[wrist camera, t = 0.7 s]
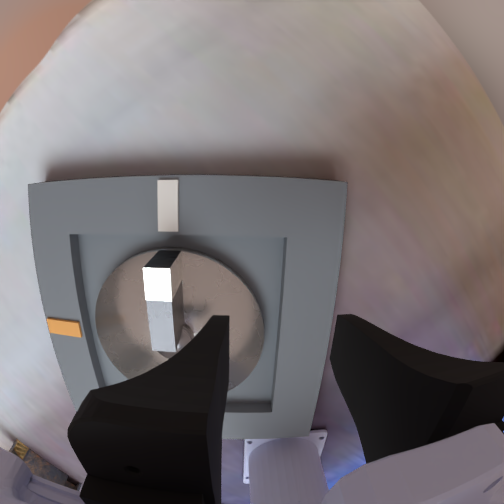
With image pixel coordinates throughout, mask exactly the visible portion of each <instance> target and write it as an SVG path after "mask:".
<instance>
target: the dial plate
mask: <svg viewBox="0 0 504 504" xmlns="http://www.w3.org/2000/svg"><path fill="white" fill-rule="evenodd" d="M347 183H348V182H343V181H336V180H323V179H309V178H294V177H275V176H250V175H142V176H118V177H100V178H85V179H72V180H60V181H49V182H41V183H34V184H28V197H29V214H30V226H31V236H32V245H33V253H34V260H35V266H36V273H37V278H38V284H39V289H40V294H41V299H42V304H43V308H44V313H45V317H46V321H47V325H48V329H49V333H50V336H51V340H52V343H53V347H54V350H55V354H56V357H57V360H58V363H59V366H60V369H61V372H62V375H63V378H64V381H65V384H66V387H67V389H68V392H69V395H70V397H71V400H72V402H73V405H74V407H75V410H76V412H77V410H78V409H79V407H80V405H81V403H82V401H83V400H84V399H85V397H86V396H87V394H88V393H89V391H90V390H93V389H97V388H101V387H105V386H109V385H113V384H117V383H120V382H123V381H126V380H129V379H128V378H126V377H125V376H124V375H123V374H122V373H121V372H120V371H119V370H118V369H117V368H116V367H115V366H114V365H113V363H112V362H111V361H110V359H109V358H108V356H107V355H106V353H105V351H104V349H103V347H102V345H101V343H100V340H99V337H98V334H97V330H96V323H95V309H96V302H97V298H98V295H99V292H100V290H101V288H102V286H103V284H104V282H105V281H106V280H107V278H108V277H109V275H110V274H111V273H112V272H113V271H114V270H115V269H116V268H117V267H119V266H120V265H121V264H122V263H123V262H125V261H126V260H127V259H129V258H130V257H132V256H134V255H136V254H138V253H140V252H143V251H146V250H149V249H154V248H160V247H183V248H189V249H193V250H198V251H200V252H203V253H206V254H209V255H211V256H213V257H215V258H217V259H219V260H221V261H222V262H224V263H225V264H227V265H228V266H230V267H231V268H232V269H233V270H234V271H236V272H237V273H238V274H239V275H240V276H241V277H242V278H243V279H244V281H245V282H246V283H247V284H248V286H249V287H250V289H251V290H252V292H253V293H254V295H255V297H256V299H257V301H258V304H259V307H260V310H261V313H262V319H263V325H264V344H263V350H262V353H261V356H260V359H259V361H258V363H257V365H256V367H255V368H254V369H253V371H252V372H251V374H250V375H249V376H248V377H247V378H246V379H245V380H244V381H243V382H242V383H240V384H239V385H238V386H236V387H235V388H233V389H232V390H230V391H228V393H227V400H226V407H225V414H224V421H223V429H222V439H274V438H292V437H305V436H309V433H310V429H311V425H312V421H313V417H314V412H315V408H316V404H317V399H318V394H319V390H320V385H321V380H322V375H323V370H324V365H325V360H326V354H327V349H328V343H329V338H330V332H331V326H332V319H333V313H334V306H335V299H336V292H337V285H338V277H339V269H340V261H341V252H342V243H343V233H344V222H345V211H346V198H347Z"/></svg>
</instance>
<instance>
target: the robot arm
mask: <svg viewBox="0 0 504 504" xmlns="http://www.w3.org/2000/svg"><path fill="white" fill-rule="evenodd" d="M229 322H230V315H213V316H211V317H210V319H209V320H208V321H207V323H206V324H205V325H204V326H203V328H202V329H201V330H200V331H199V332H198V333H197V334H196V335H195V337H194V338H193V339H192V340H191V341H190V342H189V343H188V344H187V345H185V346H184V347H183V348H182V349H181V350H180V351H179V352H178V353H176V354H175V355H174V356H172V357H171V358H170V359H168V360H167V361H165V362H164V363H162V364H160V365H158V366H156V367H155V368H153V369H151V370H149V371H147V372H145V373H143V374H141V375H139V376H136V377H134V378H131V379H129V380H126V381H123V382H120V383H117V384H113V385H109V386H105V387H101V388H97V389H93V390H90V391H89V393H88V394H87V396H86V397H85V399H84V400H83V401H82V403H81V405H80V407H79V409H78V410H77V412H76V414H75V416H74V418H73V420H72V422H71V423H70V425H69V427H68V439H69V442H70V444H71V446H72V448H73V450H74V452H75V454H76V455H77V457H78V459H79V461H80V462H81V464H82V466H83V467H84V469H85V471H86V472H87V476H86V479H85V482H84V484H83V487H82V490H81V492H80V491H77V490H74V489H71V488H68V487H65V486H62V485H59V484H56V483H54V482H51V481H48V480H46V479H43V478H41V477H38V476H36V475H34V474H32V472H31V470H30V469H29V467H28V466H27V464H26V463H25V462H24V461H23V460H22V459H21V458H19V457H18V456H16V455H15V454H13V453H11V452H9V451H7V450H5V449H2V448H0V504H221V454H222V429H223V421H224V414H225V407H226V400H227V393H228V386H229ZM330 361H331V365H332V369H333V372H334V376H335V379H336V381H337V384H338V386H339V388H340V390H341V393H342V395H343V397H344V399H345V401H346V404H347V406H348V408H349V410H350V412H351V415H352V417H353V419H354V422H355V424H356V427H357V430H358V433H359V437H360V440H361V444H362V447H363V451H364V456H365V460H366V464H364V465H363V466H361V467H359V468H358V469H356V470H354V471H352V472H351V473H349V474H347V475H345V476H344V477H342V478H341V479H340V480H339V481H338V482H337V483H336V484H335V485H334V486H333V487H332V488H331V489H330V490H329V489H328V486H327V482H326V478H325V475H324V471H323V467H322V463H321V460H320V456H321V453H322V450H323V447H324V444H325V441H326V437H327V431H326V430H324V429H322V430H312V431H310V433H309V436H305V437H292V438H274V439H245V440H244V470H243V482H244V483H246V484H249V486H250V503H251V504H504V433H503V431H504V422H503V421H502V418H503V417H504V363H502V362H480V361H472V360H465V359H459V358H454V357H450V356H446V355H442V354H438V353H435V352H432V351H429V350H426V349H423V348H421V347H418V346H415V345H413V344H411V343H408V342H406V341H404V340H402V339H400V338H398V337H396V336H394V335H392V334H390V333H388V332H386V331H384V330H382V329H380V328H379V327H377V326H375V325H373V324H371V323H369V322H368V321H366V320H364V319H362V318H360V317H358V316H355V315H353V314H346V315H337V321H336V327H335V333H334V338H333V344H332V349H331V355H330Z"/></svg>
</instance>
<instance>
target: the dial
mask: <svg viewBox="0 0 504 504" xmlns="http://www.w3.org/2000/svg"><path fill="white" fill-rule="evenodd" d="M213 315H230V322H229V386H228V391H230V390H232V389H233V388H235V387H236V386H238V385H239V384H240V383H242V382H243V381H244V380H245V379H246V378H247V377H248V376H249V375H250V374H251V372H252V371H253V369H254V368H255V367H256V365H257V363H258V361H259V359H260V356H261V353H262V350H263V344H264V325H263V319H262V313H261V310H260V307H259V304H258V301H257V299H256V297H255V295H254V293H253V292H252V290H251V289H250V287H249V286H248V284H247V283H246V282H245V281H244V279H243V278H242V277H241V276H240V275H239V274H238V273H237V272H236V271H234V270H233V269H232V268H231V267H230V266H228V265H227V264H225V263H224V262H222V261H221V260H219V259H217V258H215V257H213V256H211V255H209V254H206V253H203V252H200V251H198V250H193V249H189V248H183V247H160V248H154V249H149V250H146V251H143V252H140V253H138V254H136V255H134V256H132V257H130V258H129V259H127V260H126V261H125V262H123V263H122V264H121V265H120V266H119V267H117V268H116V269H115V270H114V271H113V272H112V273H111V274H110V275H109V277H108V278H107V280H106V281H105V282H104V284H103V286H102V288H101V290H100V292H99V295H98V298H97V302H96V309H95V323H96V330H97V334H98V337H99V340H100V343H101V345H102V347H103V349H104V351H105V353H106V355H107V356H108V358H109V359H110V361H111V362H112V363H113V365H114V366H115V367H116V368H117V369H118V370H119V371H120V372H121V373H122V374H123V375H124V376H125V377H126V378H128V379H131V378H134V377H136V376H139V375H141V374H143V373H145V372H147V371H149V370H151V369H153V368H155V367H156V366H158V365H160V364H162V363H164V362H165V361H167V360H168V359H170V358H171V357H172V356H174V355H175V354H176V353H178V352H179V351H180V350H181V349H182V348H183V347H184V346H185V345H187V344H188V343H189V342H190V341H191V340H192V339H193V338H194V337H195V335H196V334H197V333H198V332H199V331H200V330H201V329H202V328H203V326H204V325H205V324H206V323H207V321H208V320H209V319H210V317H211V316H213Z"/></svg>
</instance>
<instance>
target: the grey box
mask: <svg viewBox="0 0 504 504" xmlns="http://www.w3.org/2000/svg"><path fill="white" fill-rule="evenodd" d="M9 452H11V453H13V454H15V455H16V456H18V457H19V458H21V459H22V460H23V461H24V462H25V463H26V464H27V466H28V467H29V469H30V470H31V472H32V474H34V475H36V476H38V477H41V478H43V479H46V480H48V481H51V482H54V483H56V484H59V485H62V486H65V487H68V488H71V489H74V490H77V491H79V489H80V487H81V483H79V484H77V485H76V486H75V485H73V484H72V483H70V482H68V481H67V478H68V475H66V474H64V473H63V472H61V471H60V470H58V469H57V468H55V467H54V466H52V465H51V464H49V463H48V462H46V461H45V460H44V459H42V458H41V457H39V456H38V455H37V454H35V453H34V452H33V451H31V450H30V449H29V448H28V447H26V446H25V445H24V444H22V443H21V442H20V441H19V440H18V439H16V441H15V442H14V444H13V446H12V447H11V449H10V450H9Z"/></svg>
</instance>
